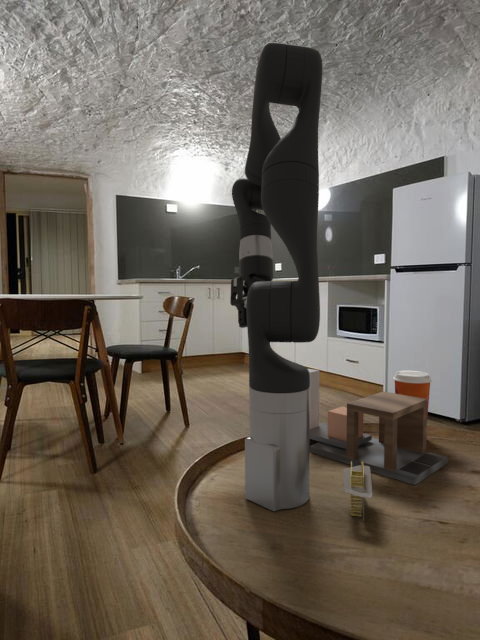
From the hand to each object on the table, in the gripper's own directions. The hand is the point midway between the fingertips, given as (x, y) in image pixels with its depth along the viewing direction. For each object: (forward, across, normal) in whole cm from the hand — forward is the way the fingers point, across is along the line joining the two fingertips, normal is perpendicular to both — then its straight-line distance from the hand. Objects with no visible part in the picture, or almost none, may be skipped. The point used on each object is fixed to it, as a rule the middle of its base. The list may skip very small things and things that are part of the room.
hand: (257, 330), depth 100 cm
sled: (+22, +11, -10) cm, 26 cm away
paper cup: (+23, +25, -20) cm, 40 cm away
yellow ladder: (+33, -9, -26) cm, 43 cm away
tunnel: (+26, +11, -20) cm, 34 cm away
